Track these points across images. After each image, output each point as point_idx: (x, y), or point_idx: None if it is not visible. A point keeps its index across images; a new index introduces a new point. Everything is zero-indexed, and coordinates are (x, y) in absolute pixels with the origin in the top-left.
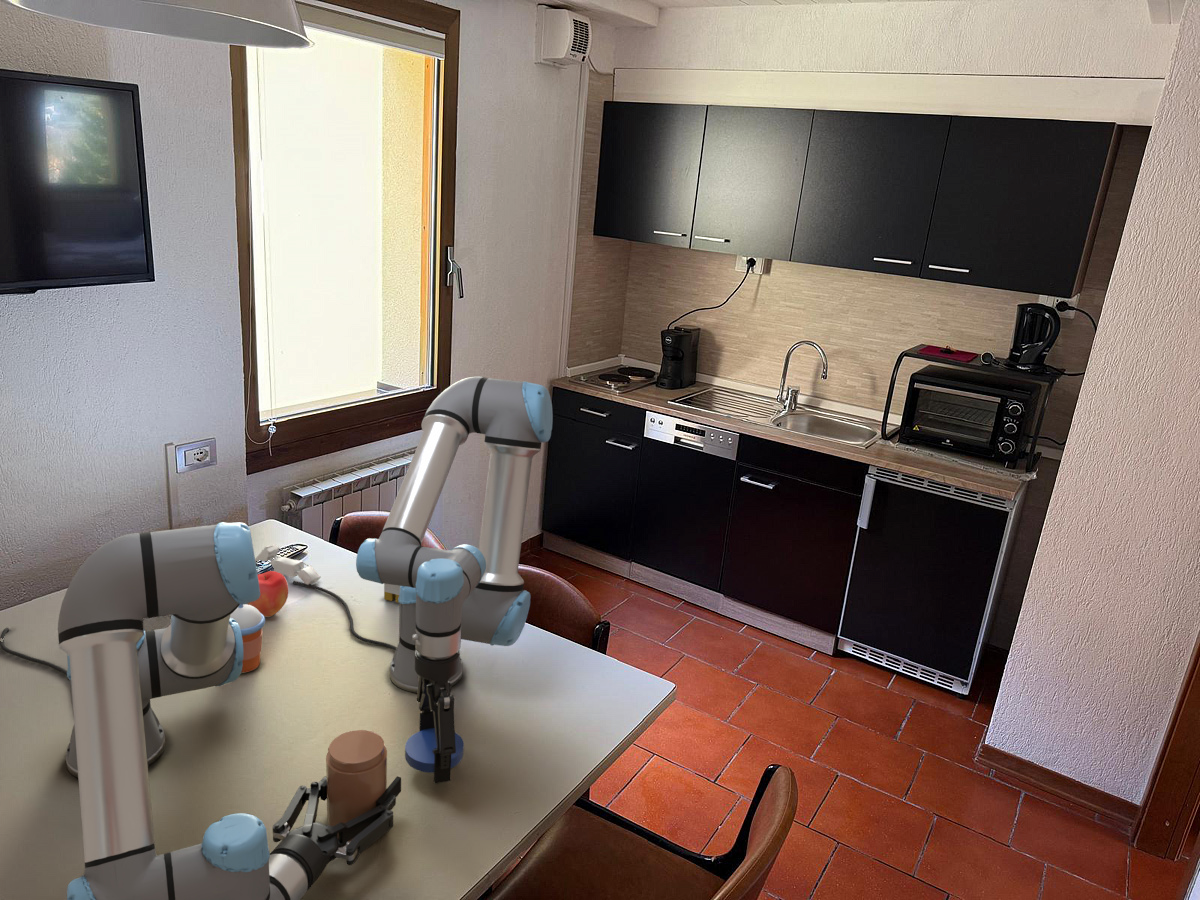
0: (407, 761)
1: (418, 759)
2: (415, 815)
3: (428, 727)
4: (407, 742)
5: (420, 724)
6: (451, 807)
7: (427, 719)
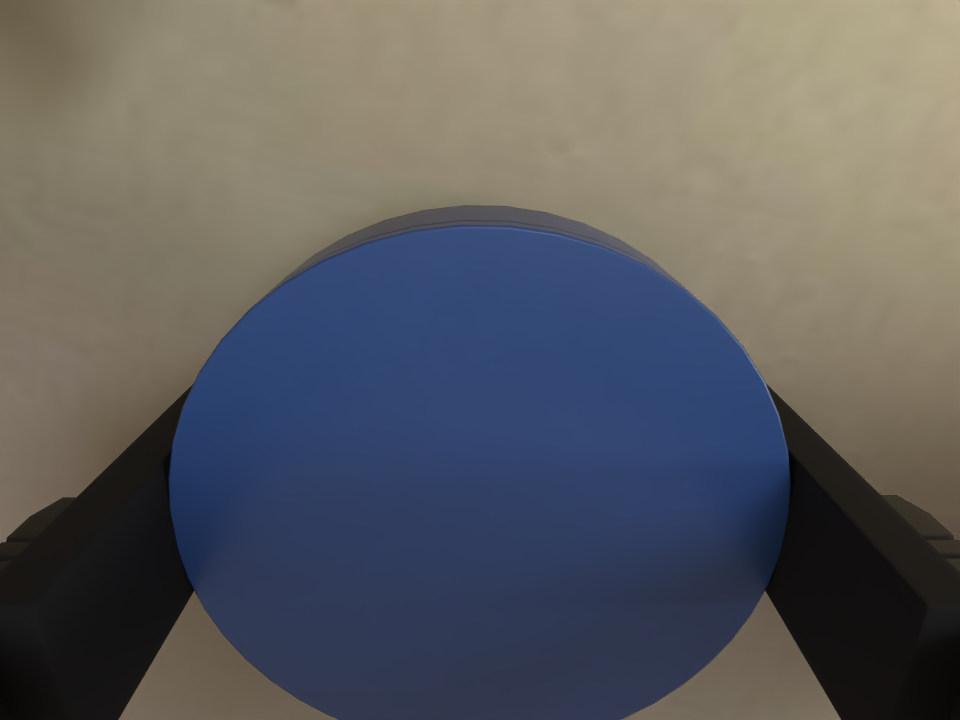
0: (416, 214)
1: (267, 329)
2: (121, 169)
3: (789, 551)
4: (635, 280)
5: (841, 507)
6: (164, 406)
7: (852, 618)
